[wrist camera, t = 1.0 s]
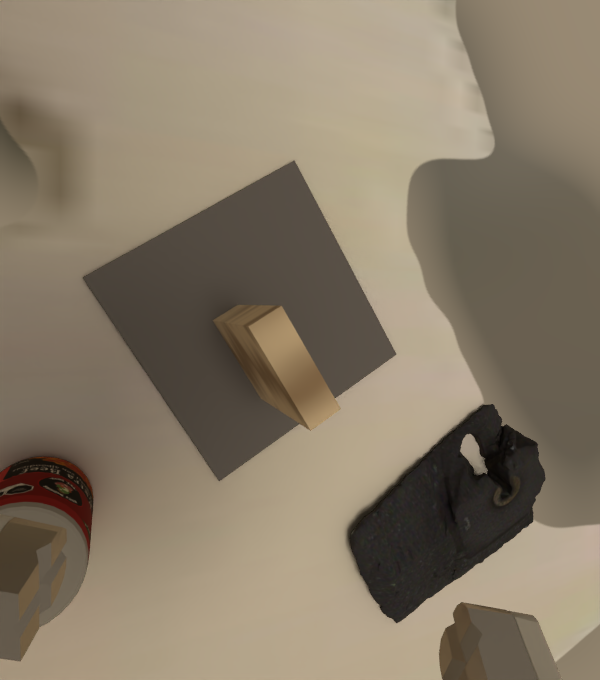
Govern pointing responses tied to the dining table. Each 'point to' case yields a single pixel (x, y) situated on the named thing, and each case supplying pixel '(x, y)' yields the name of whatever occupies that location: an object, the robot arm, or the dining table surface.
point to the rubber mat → (240, 289)
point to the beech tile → (277, 362)
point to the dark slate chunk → (448, 515)
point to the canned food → (53, 514)
